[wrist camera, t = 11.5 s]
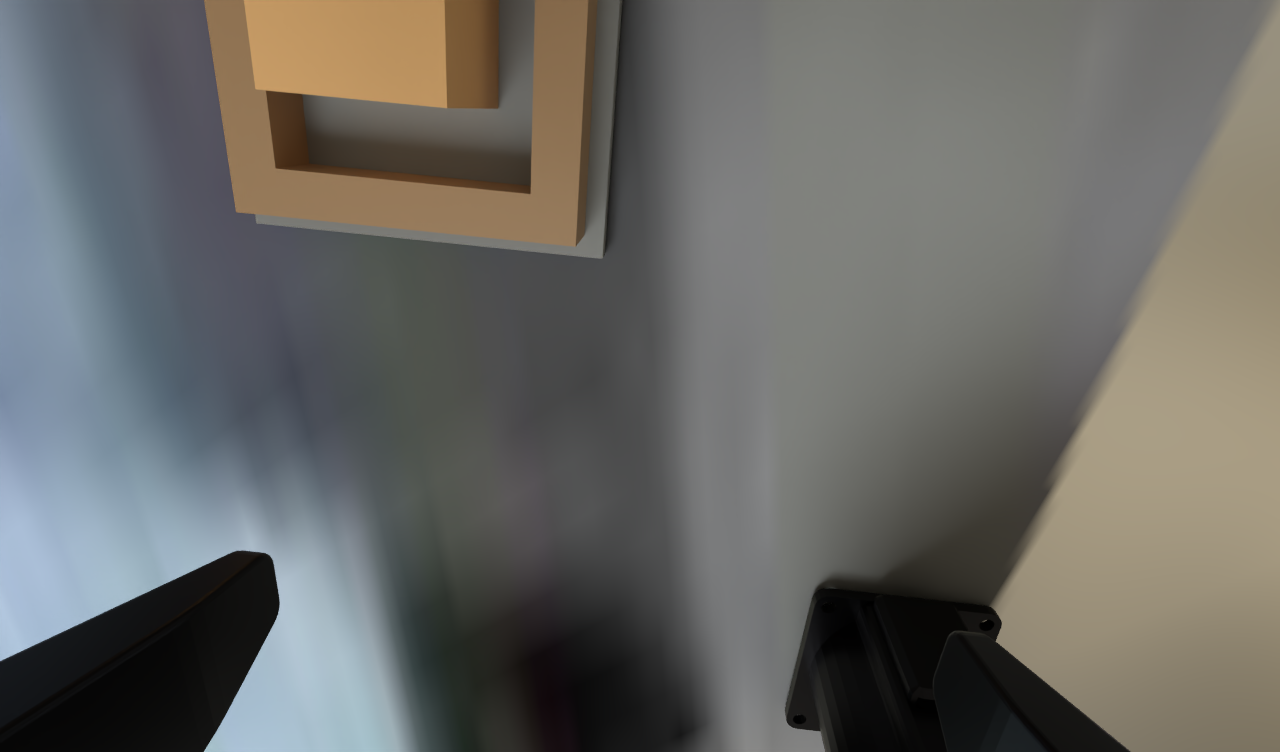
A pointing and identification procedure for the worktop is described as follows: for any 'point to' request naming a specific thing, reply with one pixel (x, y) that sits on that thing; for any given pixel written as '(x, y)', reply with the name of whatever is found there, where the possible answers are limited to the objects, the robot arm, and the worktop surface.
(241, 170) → the board
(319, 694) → the worktop surface
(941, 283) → the worktop surface
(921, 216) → the worktop surface
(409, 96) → the ochre bar
